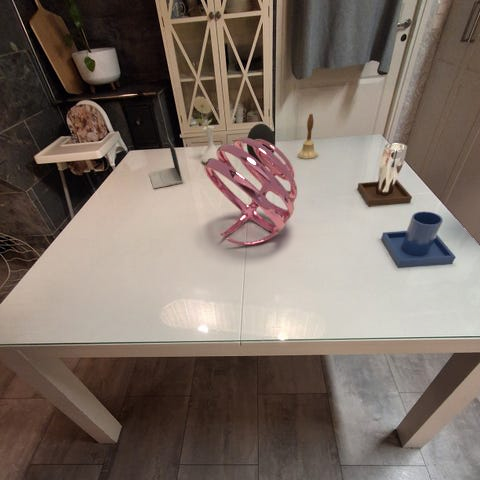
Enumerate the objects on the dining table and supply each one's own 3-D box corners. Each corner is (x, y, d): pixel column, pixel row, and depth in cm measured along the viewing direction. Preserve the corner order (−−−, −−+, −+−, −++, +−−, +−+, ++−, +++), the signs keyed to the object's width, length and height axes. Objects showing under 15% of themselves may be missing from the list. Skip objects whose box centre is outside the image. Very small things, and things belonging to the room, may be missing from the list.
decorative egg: (269, 169, 128) (268, 129, 117) (243, 166, 133) (240, 128, 122) (279, 158, 136) (279, 120, 125) (254, 156, 140) (252, 119, 129)
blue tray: (429, 235, 86) (432, 228, 84) (452, 263, 77) (455, 256, 75) (381, 238, 87) (382, 232, 85) (398, 267, 77) (400, 260, 76)
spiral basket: (194, 208, 68) (271, 105, 64) (169, 193, 90) (225, 117, 87) (269, 274, 84) (334, 195, 81) (233, 248, 107) (282, 185, 103)
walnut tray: (395, 185, 108) (397, 179, 107) (410, 203, 99) (412, 196, 97) (357, 188, 109) (358, 183, 107) (368, 206, 100) (369, 200, 98)
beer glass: (371, 197, 102) (382, 149, 91) (373, 188, 107) (384, 142, 96) (393, 199, 100) (407, 150, 89) (394, 190, 104) (408, 142, 93)
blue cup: (422, 240, 83) (435, 210, 77) (433, 254, 79) (447, 224, 72) (397, 242, 84) (408, 212, 77) (406, 256, 79) (418, 226, 73)
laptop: (149, 174, 136) (139, 143, 127) (175, 168, 138) (168, 137, 129) (154, 189, 124) (143, 156, 115) (183, 183, 126) (175, 149, 117)
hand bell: (318, 152, 136) (322, 111, 124) (314, 159, 131) (318, 117, 119) (300, 152, 139) (302, 111, 127) (296, 158, 134) (298, 117, 122)
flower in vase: (230, 159, 140) (223, 94, 122) (213, 167, 135) (203, 100, 117) (211, 154, 147) (201, 92, 129) (194, 162, 142) (182, 98, 123)
